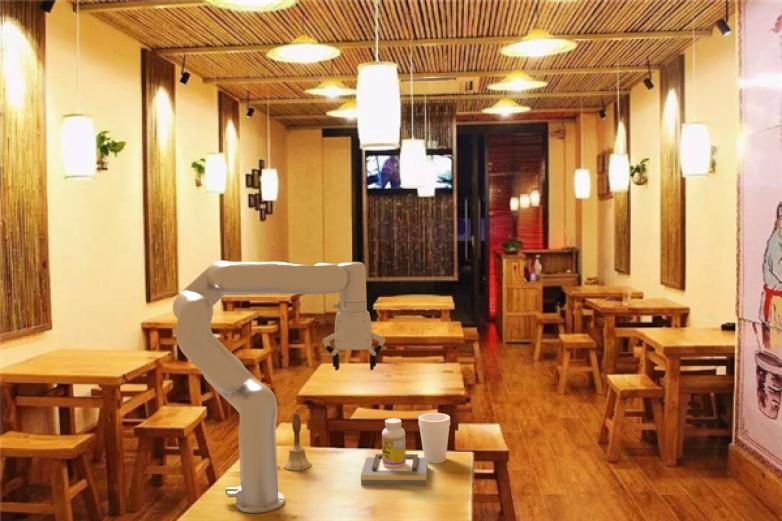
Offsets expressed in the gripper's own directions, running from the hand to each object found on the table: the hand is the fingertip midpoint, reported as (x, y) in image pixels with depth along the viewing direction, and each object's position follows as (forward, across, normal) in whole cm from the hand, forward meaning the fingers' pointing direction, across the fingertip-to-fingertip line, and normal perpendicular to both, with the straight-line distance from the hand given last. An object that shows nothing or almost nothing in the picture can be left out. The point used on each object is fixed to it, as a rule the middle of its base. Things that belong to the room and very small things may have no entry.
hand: (354, 369), depth 199 cm
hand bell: (+33, -20, +14) cm, 41 cm away
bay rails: (+29, +10, +7) cm, 32 cm away
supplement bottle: (+29, +10, +7) cm, 32 cm away
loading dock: (+32, +10, +6) cm, 34 cm away
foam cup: (+32, +21, +20) cm, 44 cm away
